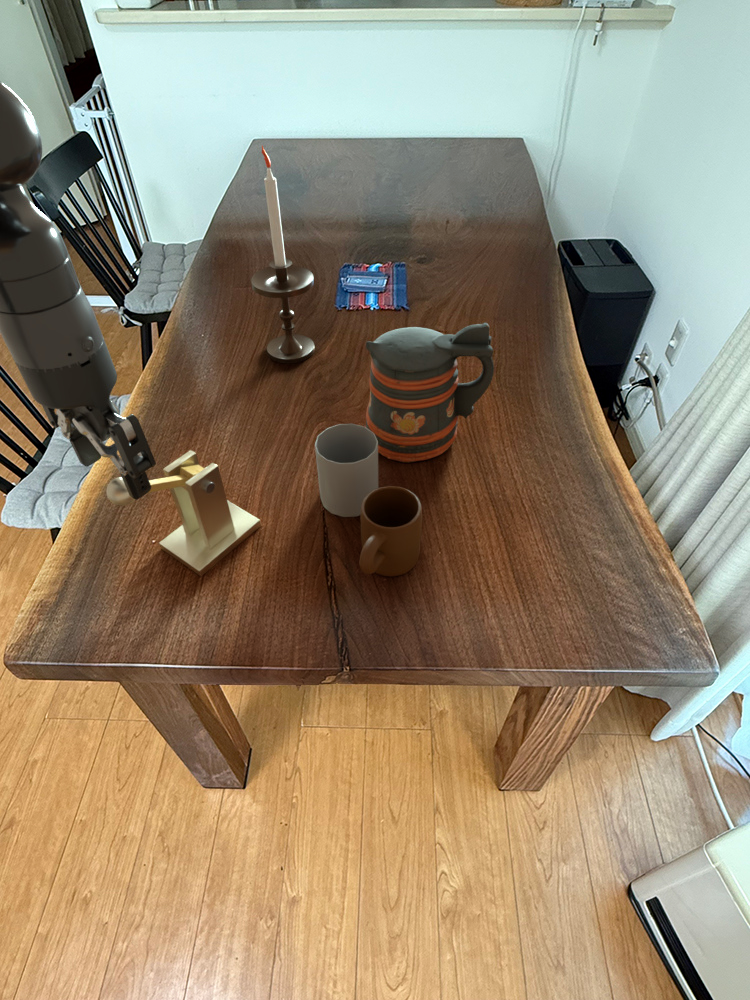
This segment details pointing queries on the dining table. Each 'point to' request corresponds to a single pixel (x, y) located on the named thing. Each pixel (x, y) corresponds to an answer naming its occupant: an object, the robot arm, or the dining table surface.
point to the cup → (346, 467)
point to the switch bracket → (204, 518)
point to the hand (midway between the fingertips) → (116, 477)
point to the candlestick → (282, 283)
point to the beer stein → (423, 388)
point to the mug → (390, 531)
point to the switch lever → (122, 498)
